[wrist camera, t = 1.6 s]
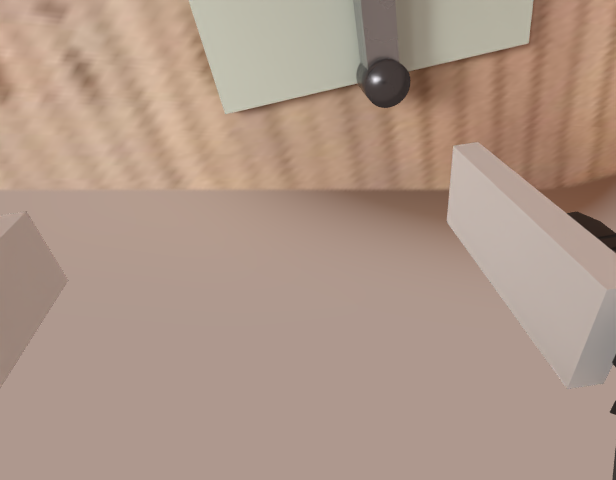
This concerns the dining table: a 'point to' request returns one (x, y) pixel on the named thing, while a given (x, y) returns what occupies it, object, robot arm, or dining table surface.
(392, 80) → the swing bar
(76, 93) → the dining table surface
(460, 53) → the door board
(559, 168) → the dining table surface
